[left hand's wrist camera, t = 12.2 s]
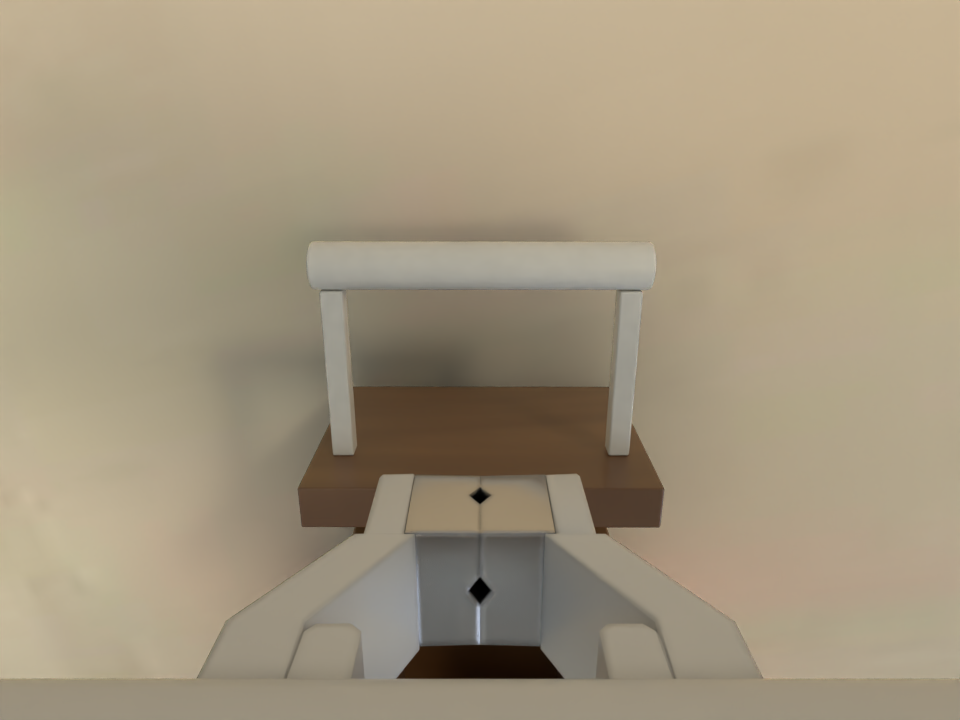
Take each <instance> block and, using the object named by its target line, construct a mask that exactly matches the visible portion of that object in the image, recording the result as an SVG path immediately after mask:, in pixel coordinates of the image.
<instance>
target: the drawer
mask: <svg viewBox="0 0 960 720" xmlns="http://www.w3.org/2000/svg"><path fill="white" fill-rule="evenodd" d="M306 270H307V277H308V281H309V284H310V286H311V288H312V289H315V290H321V291H320V293H319V296H320V308H321V319H322V331H323V343H324V355H325V366H326V378H327V390H328V402H329V413H330V424H329V426H328V428H327V430H326V432H325V434H324V436H323V438H322V440H321V442H320V444H319V446H318V448H317V450H316V452H315V455H314V457H313V459H312V461H311V463H310V465H309V467H308V469H307V471H306V473H305V475H304V477H303V479H302V481H301V483H300V485H299V487H298V496H299V505H300V514H301V523H302V527H355V529H354V532H353V535H354V534H364V531H365V528H366V524H367V521H368V517H369V514H370V510H371V506H372V503H373V499H374V496H375V492H376V489H377V485H378V481H379V478H380V477H381V476H382V475H383V474H414V475H415V476H416V474H418V475H472V476H505V475H556V474H578V475H579V476H580V479H581V482H582V486H583V489H584V493H585V496H586V500H587V503H588V507H589V510H590V514H591V517H592V521H593V524H594V528H595V532H596V534H607V535H608V536H609V533H608V530H607V527H660V523H661V514H662V505H663V496H664V488H663V486H662V483H661V481H660V479H659V477H658V475H657V473H656V471H655V469H654V467H653V465H652V463H651V461H650V459H649V457H648V455H647V453H646V451H645V449H644V447H643V445H642V443H641V441H640V438H639V436H638V434H637V432H636V430H635V428H634V426H633V424H632V414H633V402H634V391H635V379H636V368H637V356H638V345H639V333H640V322H641V311H642V299H643V293H642V291H641V290H648V289H651V287H652V285H653V283H654V280H655V274H656V252H655V248H654V245H653V243H651V242H479V241H313V242H311V243H310V244H309V246H308V250H307V255H306ZM346 290H616V302H615V316H614V329H613V343H612V357H611V370H610V384H609V387H353V380H352V366H351V352H350V338H349V323H348V309H347V295H346ZM396 679H564V678H563V676H562V675H561V674H560V673H559V671H558V670H557V669H556V668H555V666H554V665H553V664H552V663H551V661H550V660H549V659H548V658H547V656H546V655H545V654H544V653H543V651H542V650H541V646H510V645H449V646H419V651H418V652H417V653H416V655H415V656H414V657H413V658H412V660H411V661H410V662H409V663H408V664H407V666H406V667H405V668H404V669H403V671H402V672H401V673H400V674H399V676H398V677H397V678H396Z"/></svg>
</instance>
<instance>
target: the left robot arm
mask: <svg viewBox="0 0 960 720" xmlns="http://www.w3.org/2000/svg"><path fill="white" fill-rule="evenodd" d="M449 645H510V646H541V650H542V651H543V653H544V654H545V655H546V656H547V658H548V659H549V660H550V661H551V663H552V664H553V665H554V666H555V668H556V669H557V670H558V671H559V673H560V674H561V675H562V676H563V678H564V679H396V678H397V677H398V676H399V674H400V673H401V672H402V671H403V669H404V668H405V667H406V666H407V664H408V663H409V662H410V661H411V660H412V658H413V657H414V656H415V655H416V653H417V652H418V651H419V646H449ZM0 720H960V679H763V677H762V675H761V673H760V671H759V669H758V667H757V665H756V663H755V661H754V659H753V657H752V655H751V653H750V651H749V649H748V647H747V645H746V643H745V641H744V639H743V637H742V635H741V633H740V631H739V629H738V627H737V625H736V623H735V622H734V621H733V620H731V619H730V618H729V617H727V616H726V615H724V614H723V613H721V612H720V611H718V610H717V609H715V608H714V607H712V606H711V605H709V604H708V603H707V602H705V601H704V600H702V599H701V598H699V597H698V596H696V595H695V594H693V593H692V592H690V591H689V590H687V589H686V588H684V587H683V586H682V585H680V584H679V583H677V582H676V581H674V580H673V579H671V578H670V577H668V576H667V575H665V574H664V573H662V572H661V571H659V570H658V569H657V568H655V567H654V566H652V565H651V564H649V563H648V562H646V561H645V560H643V559H642V558H640V557H639V556H637V555H636V554H634V553H633V552H632V551H630V550H629V549H627V548H626V547H624V546H623V545H621V544H620V543H618V542H617V541H615V540H614V539H612V538H611V537H609V536H608V535H607V534H596V532H595V528H594V524H593V521H592V517H591V514H590V510H589V507H588V503H587V500H586V496H585V493H584V489H583V486H582V482H581V479H580V476H579V475H578V474H556V475H505V476H472V475H418V474H416V476H415V475H414V474H383V475H382V476H381V477H380V478H379V481H378V485H377V489H376V492H375V496H374V499H373V503H372V506H371V510H370V514H369V517H368V521H367V524H366V528H365V531H364V534H354V535H352V536H351V537H349V538H348V539H346V540H345V541H343V542H342V543H340V544H339V545H337V546H336V547H334V548H333V549H331V550H330V551H328V552H327V553H325V554H324V555H322V556H321V557H320V558H318V559H317V560H315V561H314V562H312V563H311V564H309V565H308V566H306V567H305V568H303V569H302V570H300V571H299V572H297V573H296V574H294V575H293V576H291V577H290V578H289V579H287V580H286V581H284V582H283V583H281V584H280V585H278V586H277V587H275V588H274V589H272V590H271V591H269V592H268V593H266V594H265V595H263V596H262V597H260V598H259V599H258V600H256V601H255V602H253V603H252V604H250V605H249V606H247V607H246V608H244V609H243V610H241V611H240V612H238V613H237V614H235V615H234V616H232V617H231V618H229V619H228V620H226V622H225V624H224V626H223V628H222V630H221V632H220V634H219V636H218V638H217V640H216V642H215V644H214V646H213V647H212V649H211V651H210V653H209V655H208V657H207V659H206V661H205V663H204V665H203V667H202V669H201V671H200V673H199V675H198V677H197V679H0Z"/></svg>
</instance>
